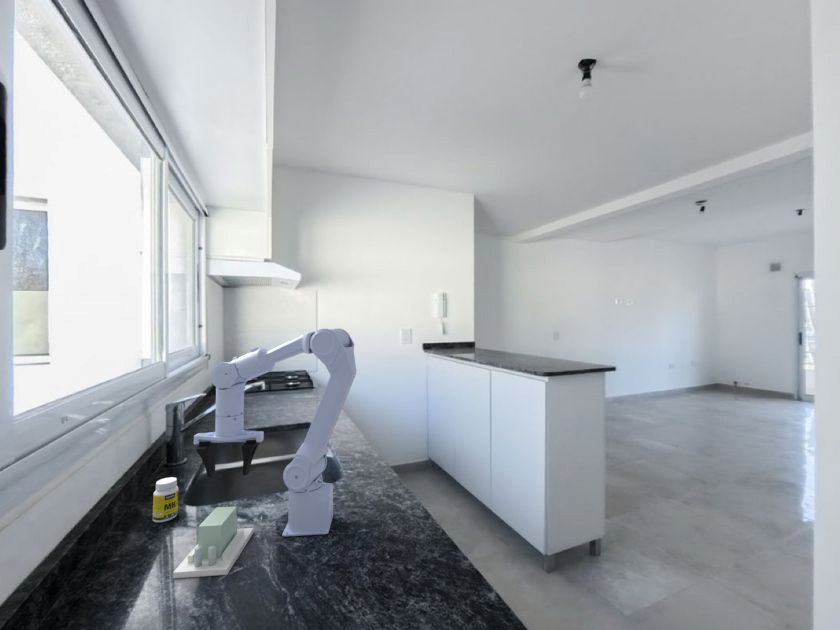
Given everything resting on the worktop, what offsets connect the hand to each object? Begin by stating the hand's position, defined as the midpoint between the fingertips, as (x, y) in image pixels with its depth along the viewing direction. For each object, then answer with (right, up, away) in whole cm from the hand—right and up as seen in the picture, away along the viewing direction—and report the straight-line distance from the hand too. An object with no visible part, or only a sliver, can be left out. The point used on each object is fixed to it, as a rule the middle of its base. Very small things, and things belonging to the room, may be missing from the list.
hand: (228, 474), depth 81 cm
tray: (+4, -10, -12) cm, 16 cm away
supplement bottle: (-15, -11, +1) cm, 19 cm away
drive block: (+4, -9, -12) cm, 15 cm away
